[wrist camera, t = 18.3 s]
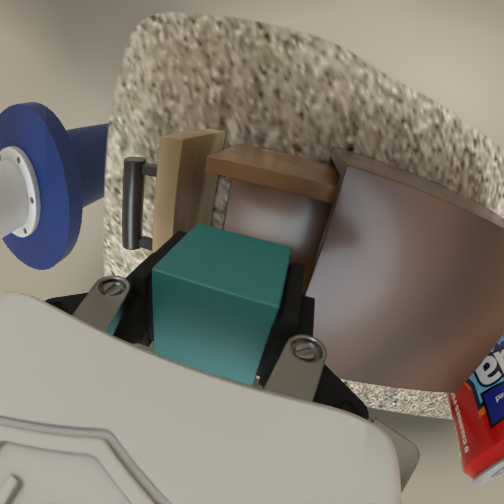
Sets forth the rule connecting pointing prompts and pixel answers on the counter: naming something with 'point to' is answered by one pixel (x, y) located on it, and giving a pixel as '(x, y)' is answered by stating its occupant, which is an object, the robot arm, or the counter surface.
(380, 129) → the counter surface
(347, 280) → the cabinet
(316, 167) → the drawer
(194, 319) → the block
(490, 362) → the soda can
